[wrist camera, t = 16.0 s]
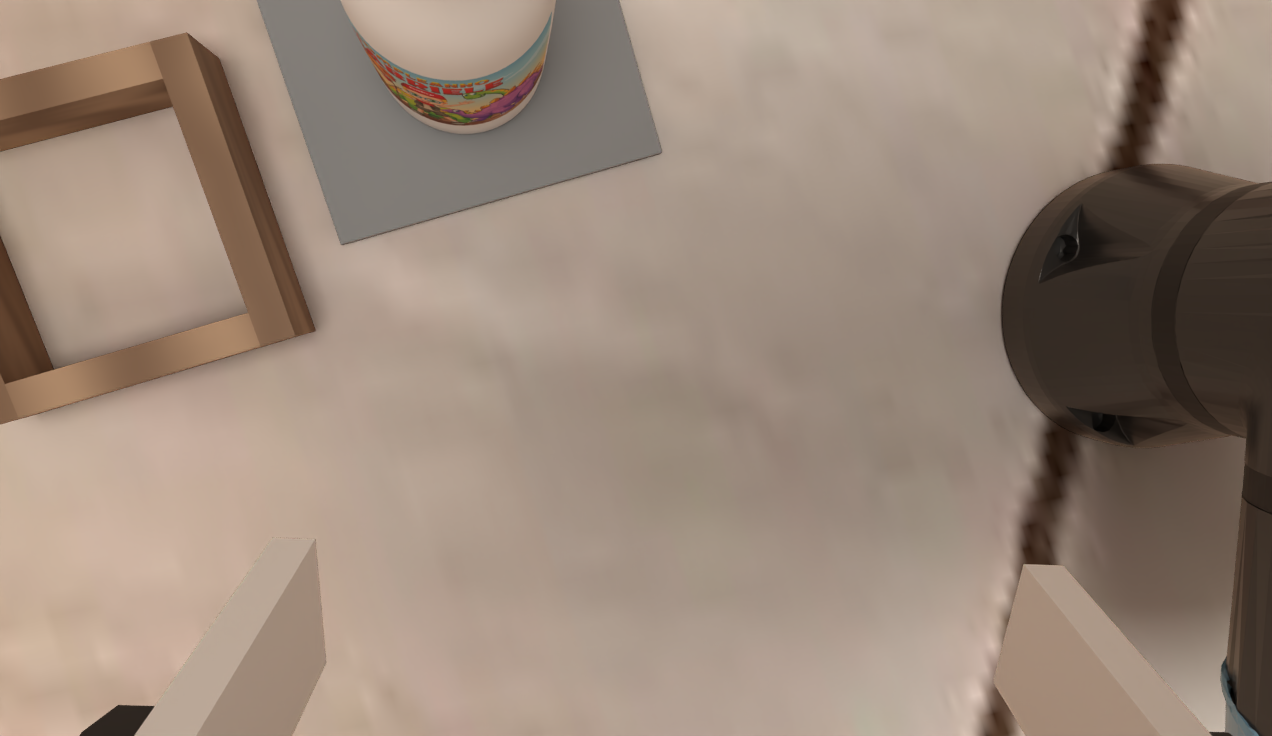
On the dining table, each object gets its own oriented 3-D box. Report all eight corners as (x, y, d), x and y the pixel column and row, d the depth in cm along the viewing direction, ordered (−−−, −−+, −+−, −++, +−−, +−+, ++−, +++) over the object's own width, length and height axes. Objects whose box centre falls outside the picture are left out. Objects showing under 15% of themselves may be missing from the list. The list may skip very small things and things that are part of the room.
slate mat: (577, -137, 40) (578, -142, 39) (660, 153, 42) (661, 152, 41) (239, -56, 38) (236, -60, 37) (342, 245, 40) (340, 244, 39)
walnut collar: (219, 58, 38) (186, 32, 34) (315, 330, 40) (295, 335, 36) (-81, 135, 37) (-150, 116, 33) (34, 414, 38) (-19, 429, 35)
